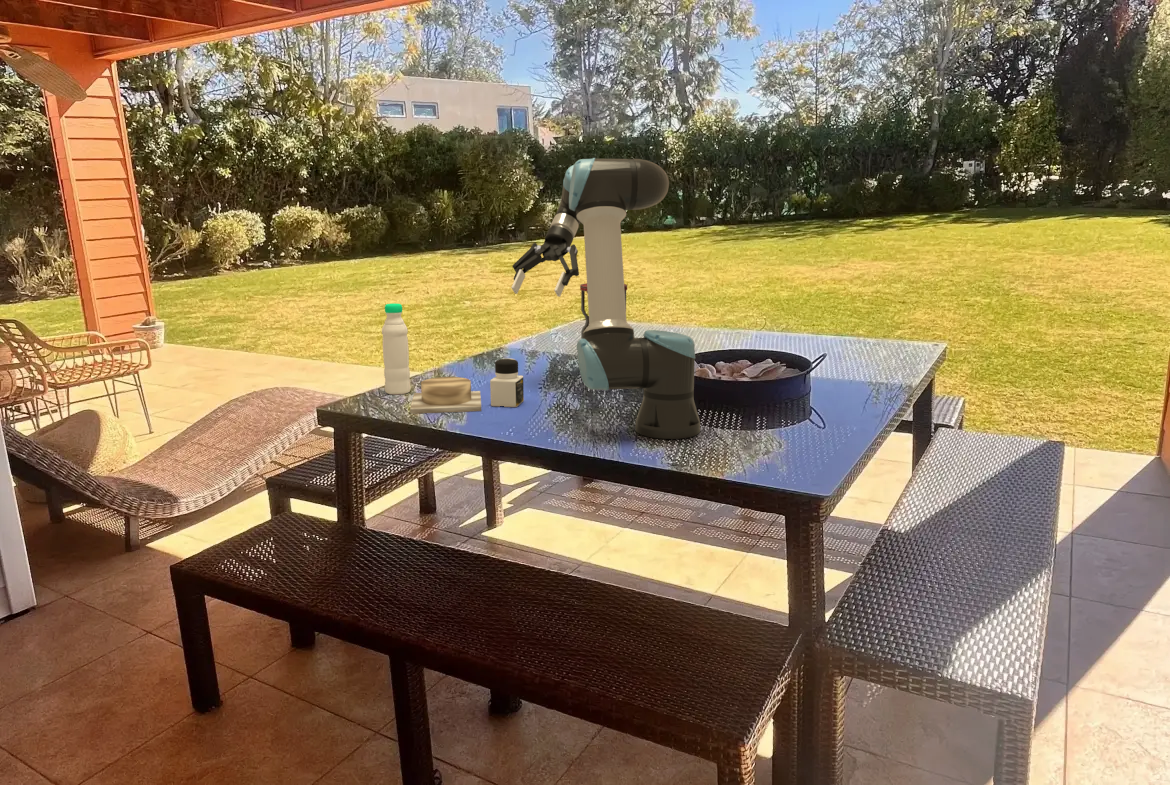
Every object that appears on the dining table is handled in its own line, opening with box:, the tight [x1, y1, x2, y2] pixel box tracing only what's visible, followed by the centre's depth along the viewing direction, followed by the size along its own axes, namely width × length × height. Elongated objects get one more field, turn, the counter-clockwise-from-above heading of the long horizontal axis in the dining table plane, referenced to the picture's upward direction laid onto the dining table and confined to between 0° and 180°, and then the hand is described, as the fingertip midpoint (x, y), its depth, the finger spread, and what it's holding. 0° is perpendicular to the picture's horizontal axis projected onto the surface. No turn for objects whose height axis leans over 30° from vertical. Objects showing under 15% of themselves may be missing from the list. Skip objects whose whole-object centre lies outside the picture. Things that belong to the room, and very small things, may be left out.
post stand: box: [409, 376, 482, 415], centre depth 219 cm, size 18×18×6 cm
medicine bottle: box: [489, 358, 525, 408], centre depth 219 cm, size 7×7×12 cm
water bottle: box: [381, 302, 412, 396], centre depth 231 cm, size 7×7×25 cm
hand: (535, 292), depth 226 cm, fingers open, 13 cm apart
